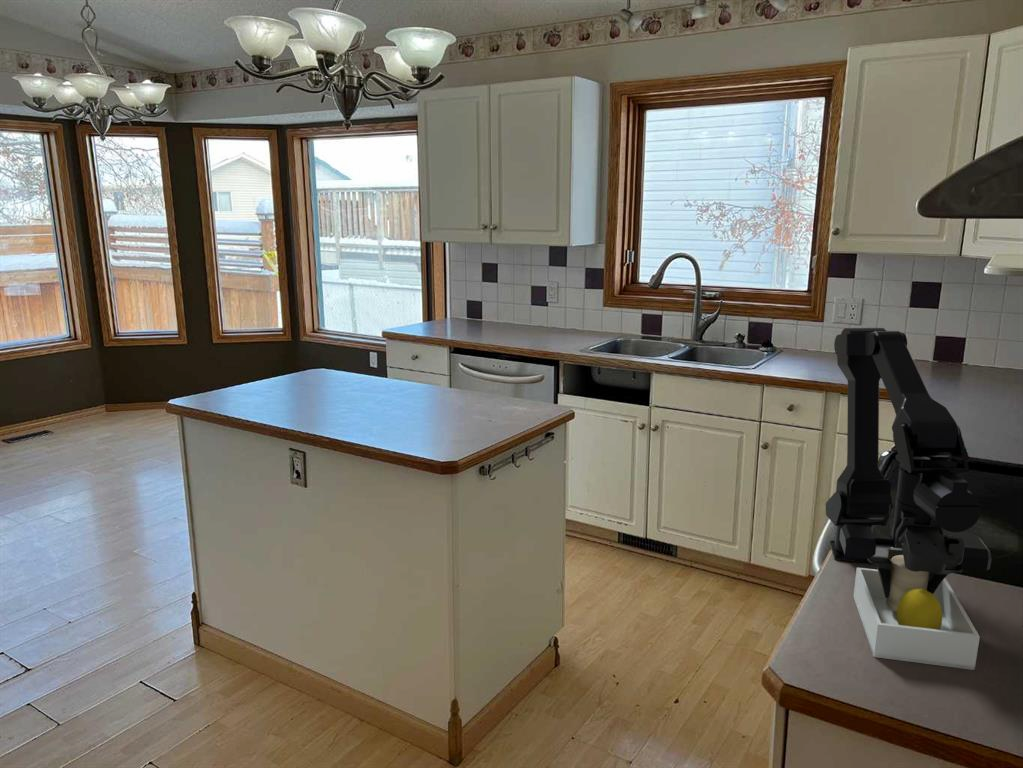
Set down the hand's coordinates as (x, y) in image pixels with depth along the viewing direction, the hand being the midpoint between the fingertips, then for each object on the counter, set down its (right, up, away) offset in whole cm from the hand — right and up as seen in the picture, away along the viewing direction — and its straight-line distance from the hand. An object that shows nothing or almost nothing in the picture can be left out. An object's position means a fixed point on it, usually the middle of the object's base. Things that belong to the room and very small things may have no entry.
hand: (905, 598), depth 110 cm
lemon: (-2, -4, -6) cm, 7 cm away
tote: (-1, -4, -3) cm, 5 cm away
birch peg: (0, -1, 0) cm, 1 cm away
